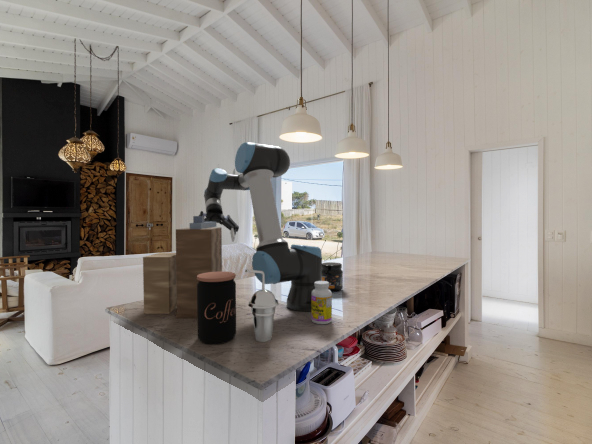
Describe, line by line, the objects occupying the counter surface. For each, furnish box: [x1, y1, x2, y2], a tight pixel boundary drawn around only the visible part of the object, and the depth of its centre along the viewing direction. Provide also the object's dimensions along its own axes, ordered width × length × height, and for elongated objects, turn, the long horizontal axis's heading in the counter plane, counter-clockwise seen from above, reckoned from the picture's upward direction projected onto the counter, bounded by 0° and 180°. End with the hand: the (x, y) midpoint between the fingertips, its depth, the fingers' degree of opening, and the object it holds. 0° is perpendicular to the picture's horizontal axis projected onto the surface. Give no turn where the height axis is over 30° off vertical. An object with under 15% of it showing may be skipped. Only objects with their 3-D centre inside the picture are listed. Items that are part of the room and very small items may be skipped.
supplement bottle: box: [310, 281, 333, 325], centre depth 105 cm, size 7×7×13 cm
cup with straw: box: [244, 269, 279, 343], centre depth 91 cm, size 8×9×20 cm
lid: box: [189, 215, 217, 229], centre depth 120 cm, size 20×4×4 cm, turn 179°
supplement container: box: [322, 261, 344, 293], centre depth 149 cm, size 10×10×12 cm
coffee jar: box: [196, 270, 237, 345], centre depth 91 cm, size 11×11×18 cm
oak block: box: [142, 252, 177, 315], centre depth 120 cm, size 14×9×20 cm, turn 179°
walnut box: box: [175, 226, 223, 319], centre depth 116 cm, size 14×12×30 cm
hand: (218, 237), depth 138 cm, fingers open, 13 cm apart
